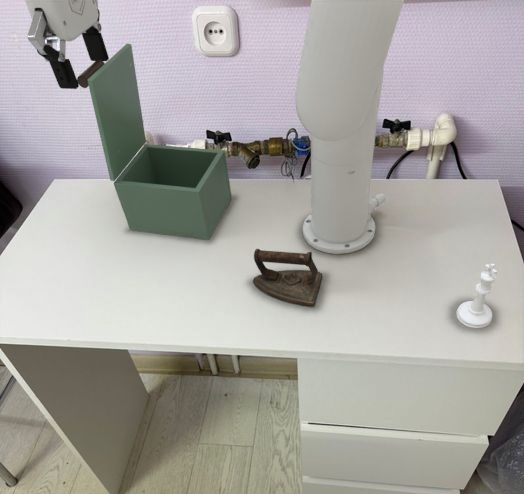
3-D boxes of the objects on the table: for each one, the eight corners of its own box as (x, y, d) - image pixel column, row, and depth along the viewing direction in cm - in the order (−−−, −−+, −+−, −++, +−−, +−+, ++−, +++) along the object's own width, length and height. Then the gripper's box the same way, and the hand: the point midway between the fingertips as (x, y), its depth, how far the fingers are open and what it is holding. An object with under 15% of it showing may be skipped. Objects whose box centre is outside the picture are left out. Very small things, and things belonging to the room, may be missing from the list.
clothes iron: (319, 310, 77) (301, 265, 69) (253, 311, 82) (230, 270, 74) (327, 276, 80) (311, 230, 73) (263, 279, 85) (242, 236, 78)
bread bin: (232, 198, 97) (224, 150, 89) (209, 240, 89) (198, 192, 81) (158, 190, 101) (144, 143, 93) (130, 230, 93) (113, 183, 85)
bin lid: (131, 44, 79) (102, 38, 79) (92, 80, 71) (60, 74, 72) (146, 142, 92) (121, 136, 93) (114, 181, 85) (87, 175, 85)
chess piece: (472, 333, 71) (491, 282, 63) (449, 311, 74) (464, 260, 66) (499, 319, 72) (521, 268, 64) (475, 299, 75) (493, 247, 67)
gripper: (22, -46, 59) (78, 100, 72) (92, -84, 69) (130, 51, 82) (-29, -44, 61) (35, 98, 74) (47, -81, 71) (91, 50, 84)
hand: (85, 73), depth 78 cm, fingers open, 9 cm apart
